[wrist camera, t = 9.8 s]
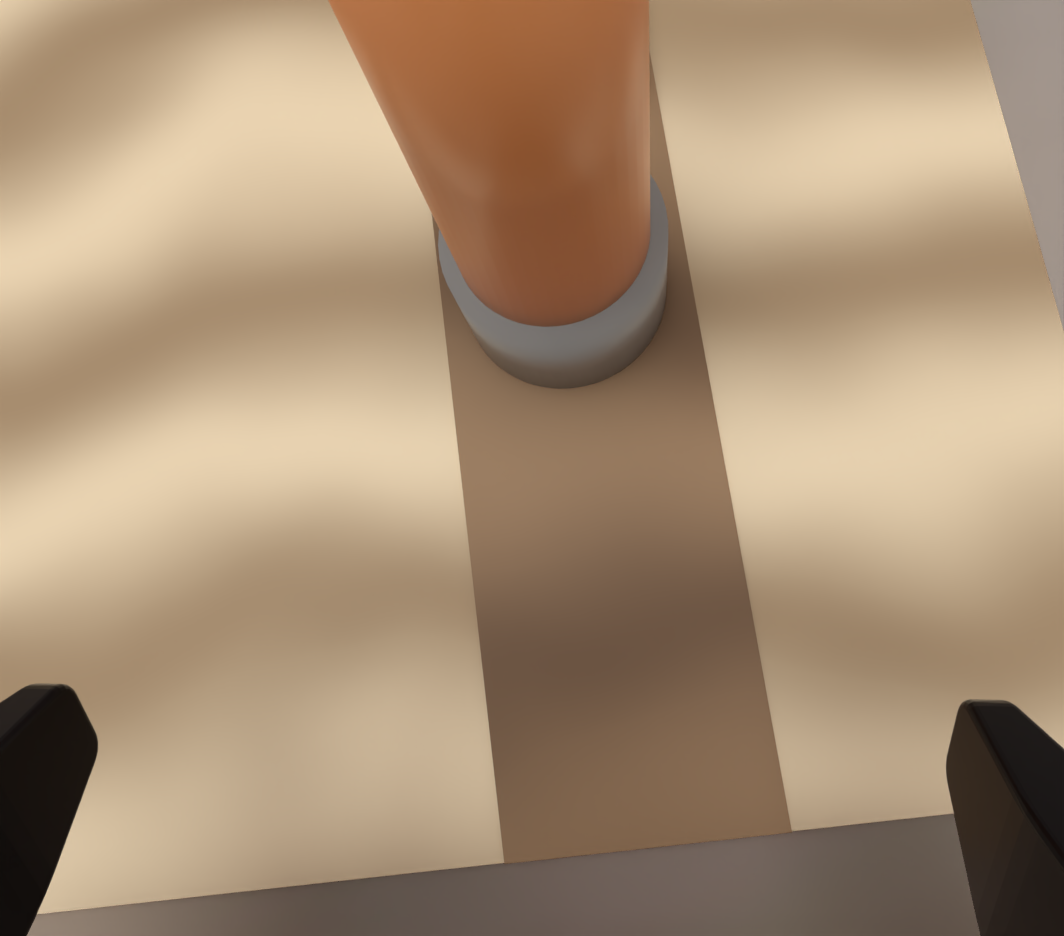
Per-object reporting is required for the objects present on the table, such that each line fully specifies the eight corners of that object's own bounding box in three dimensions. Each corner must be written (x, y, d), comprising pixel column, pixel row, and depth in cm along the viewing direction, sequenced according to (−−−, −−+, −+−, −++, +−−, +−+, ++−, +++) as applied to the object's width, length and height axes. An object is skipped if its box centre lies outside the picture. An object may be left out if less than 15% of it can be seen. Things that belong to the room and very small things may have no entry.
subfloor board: (1144, 776, 16) (1196, 788, 15) (-73, 912, 19) (-140, 934, 17) (889, -160, 21) (908, -227, 19) (-50, 45, 23) (-100, 1, 22)
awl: (645, 404, 17) (622, -324, 5) (446, 369, 18) (-52, -349, 5) (683, 215, 18) (755, -866, 5) (491, 189, 19) (150, -819, 6)
